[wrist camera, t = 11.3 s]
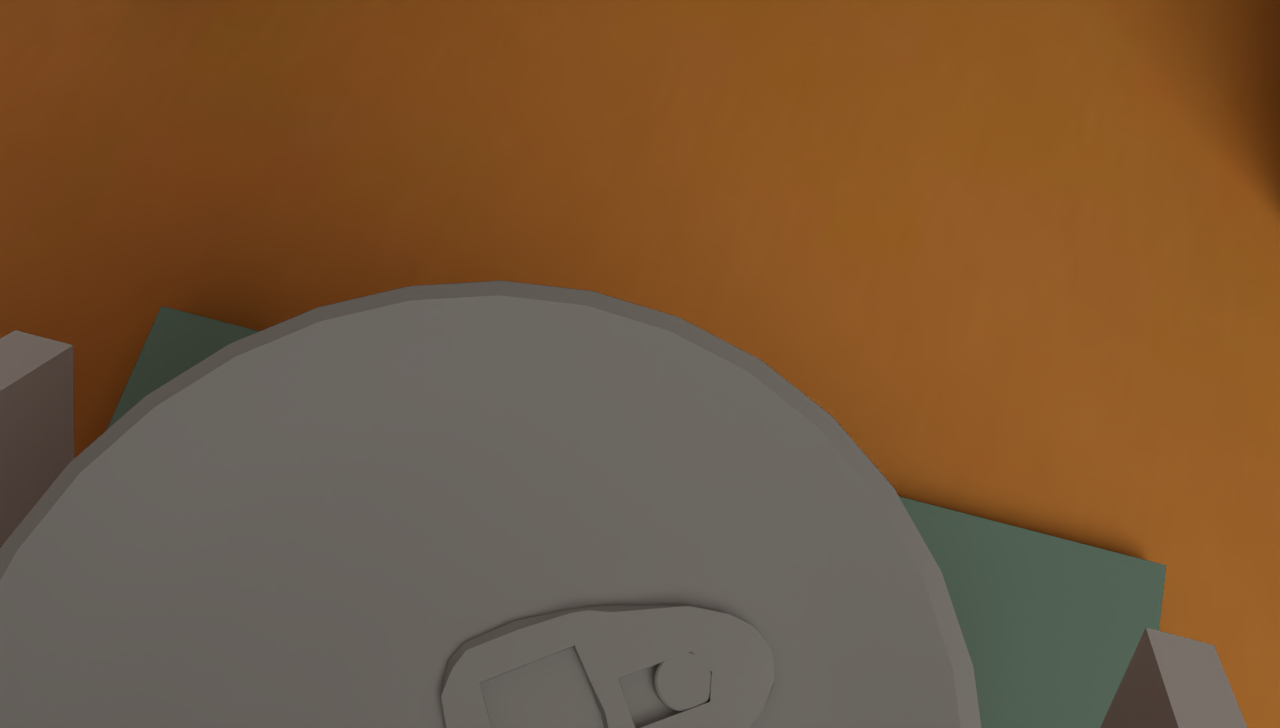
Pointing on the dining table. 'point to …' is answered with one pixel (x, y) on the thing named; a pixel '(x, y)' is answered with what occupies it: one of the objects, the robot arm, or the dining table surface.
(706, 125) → the dining table surface
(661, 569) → the canned food
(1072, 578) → the green mat
